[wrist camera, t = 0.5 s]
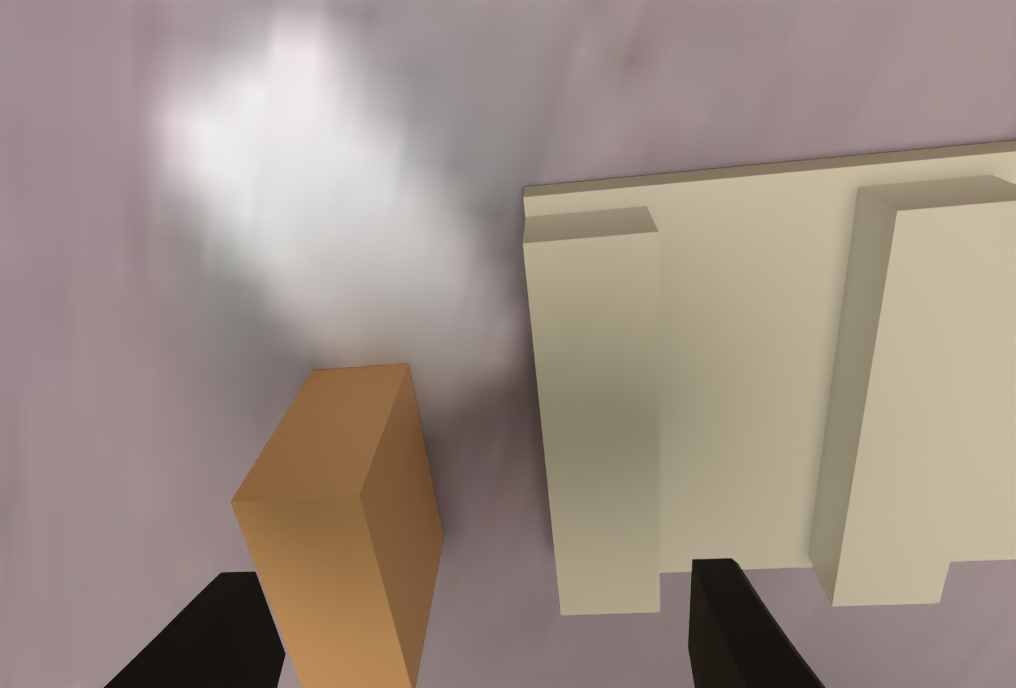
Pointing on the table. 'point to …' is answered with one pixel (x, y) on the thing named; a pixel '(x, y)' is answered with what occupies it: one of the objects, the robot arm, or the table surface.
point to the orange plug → (347, 528)
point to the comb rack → (778, 372)
